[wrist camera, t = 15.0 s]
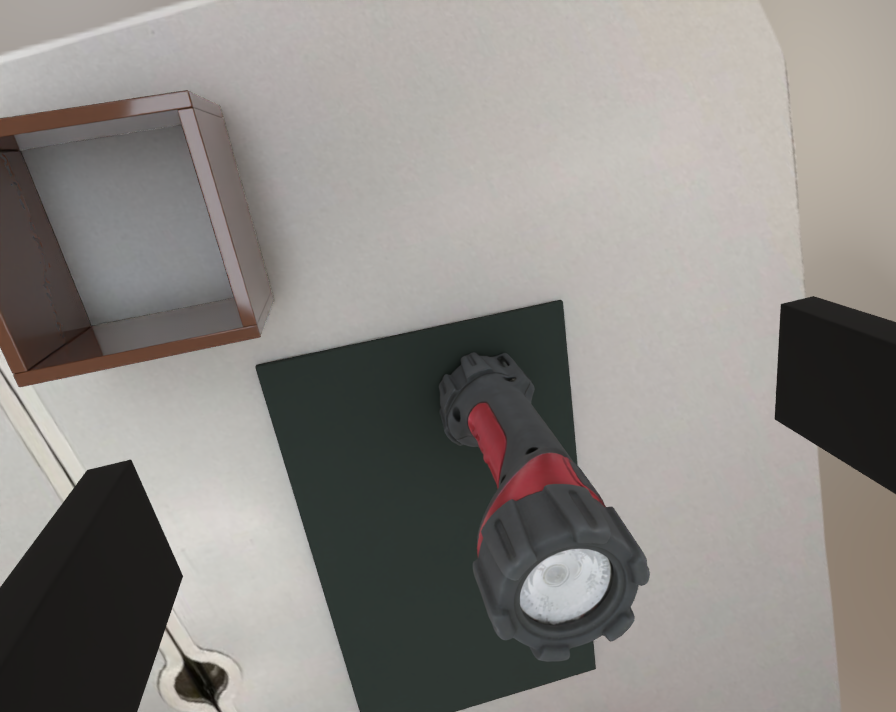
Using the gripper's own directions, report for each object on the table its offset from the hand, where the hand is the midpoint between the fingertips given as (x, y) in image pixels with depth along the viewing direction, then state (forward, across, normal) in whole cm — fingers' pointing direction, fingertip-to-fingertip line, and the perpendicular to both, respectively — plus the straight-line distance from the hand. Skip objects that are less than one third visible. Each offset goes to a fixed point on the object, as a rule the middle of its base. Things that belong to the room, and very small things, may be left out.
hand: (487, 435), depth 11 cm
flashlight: (+31, +4, -14) cm, 35 cm away
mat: (+31, +1, -28) cm, 42 cm away
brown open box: (+32, -15, +3) cm, 35 cm away
